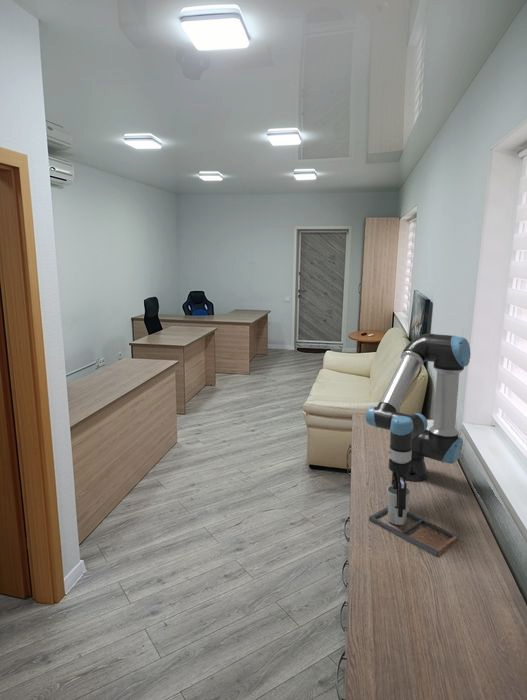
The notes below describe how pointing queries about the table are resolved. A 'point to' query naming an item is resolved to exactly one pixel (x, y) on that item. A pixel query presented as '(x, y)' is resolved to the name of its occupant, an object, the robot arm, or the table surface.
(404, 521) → the cup
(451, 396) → the robot arm
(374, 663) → the table surface
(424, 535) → the two-slot metal tray
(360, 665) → the table surface
